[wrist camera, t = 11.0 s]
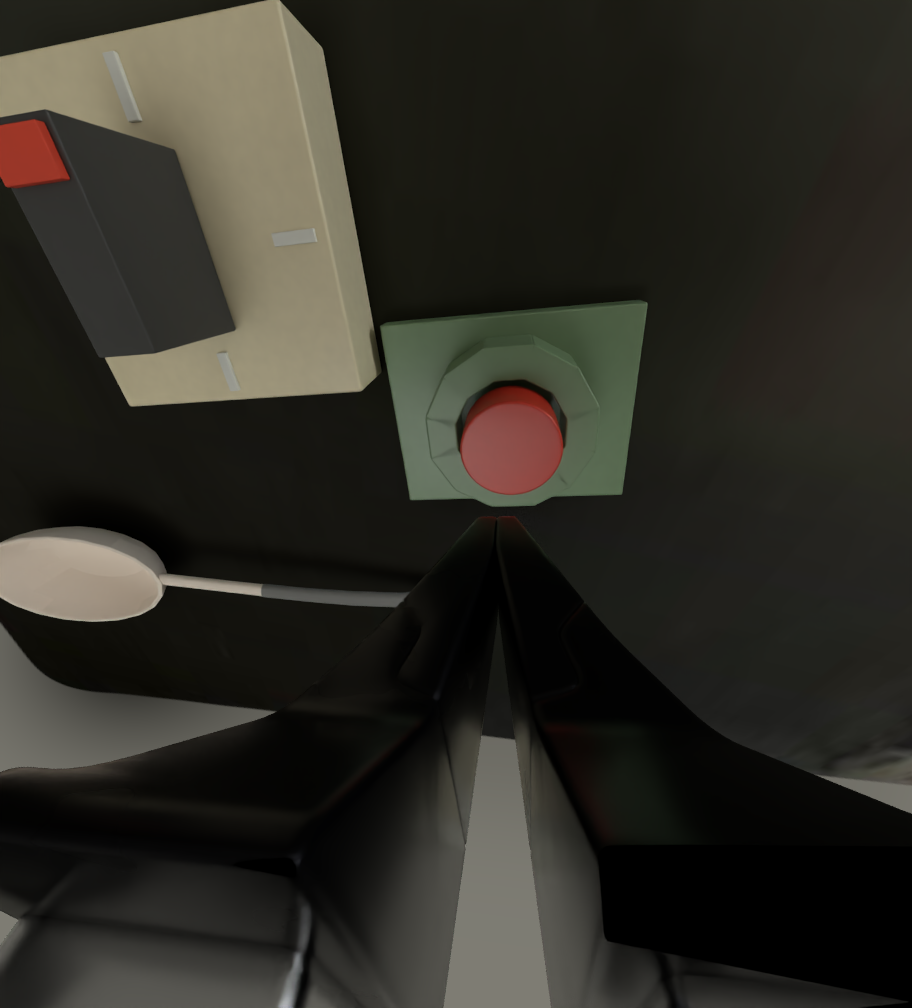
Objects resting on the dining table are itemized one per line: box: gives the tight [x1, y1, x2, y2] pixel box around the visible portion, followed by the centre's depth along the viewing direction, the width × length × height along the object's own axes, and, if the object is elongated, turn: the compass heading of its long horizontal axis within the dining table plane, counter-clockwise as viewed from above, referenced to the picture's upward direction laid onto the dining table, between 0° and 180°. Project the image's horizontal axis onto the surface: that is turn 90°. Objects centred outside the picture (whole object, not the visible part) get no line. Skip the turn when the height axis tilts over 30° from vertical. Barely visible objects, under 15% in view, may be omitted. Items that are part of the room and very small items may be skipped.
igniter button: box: [460, 386, 563, 495], centre depth 15 cm, size 4×4×2 cm
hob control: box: [0, 0, 382, 406], centre depth 15 cm, size 10×10×3 cm
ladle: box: [0, 526, 410, 622], centre depth 24 cm, size 6×28×5 cm, turn 86°
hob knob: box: [0, 109, 236, 358], centre depth 12 cm, size 5×2×4 cm, turn 5°
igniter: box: [380, 300, 647, 507], centre depth 17 cm, size 10×8×3 cm
